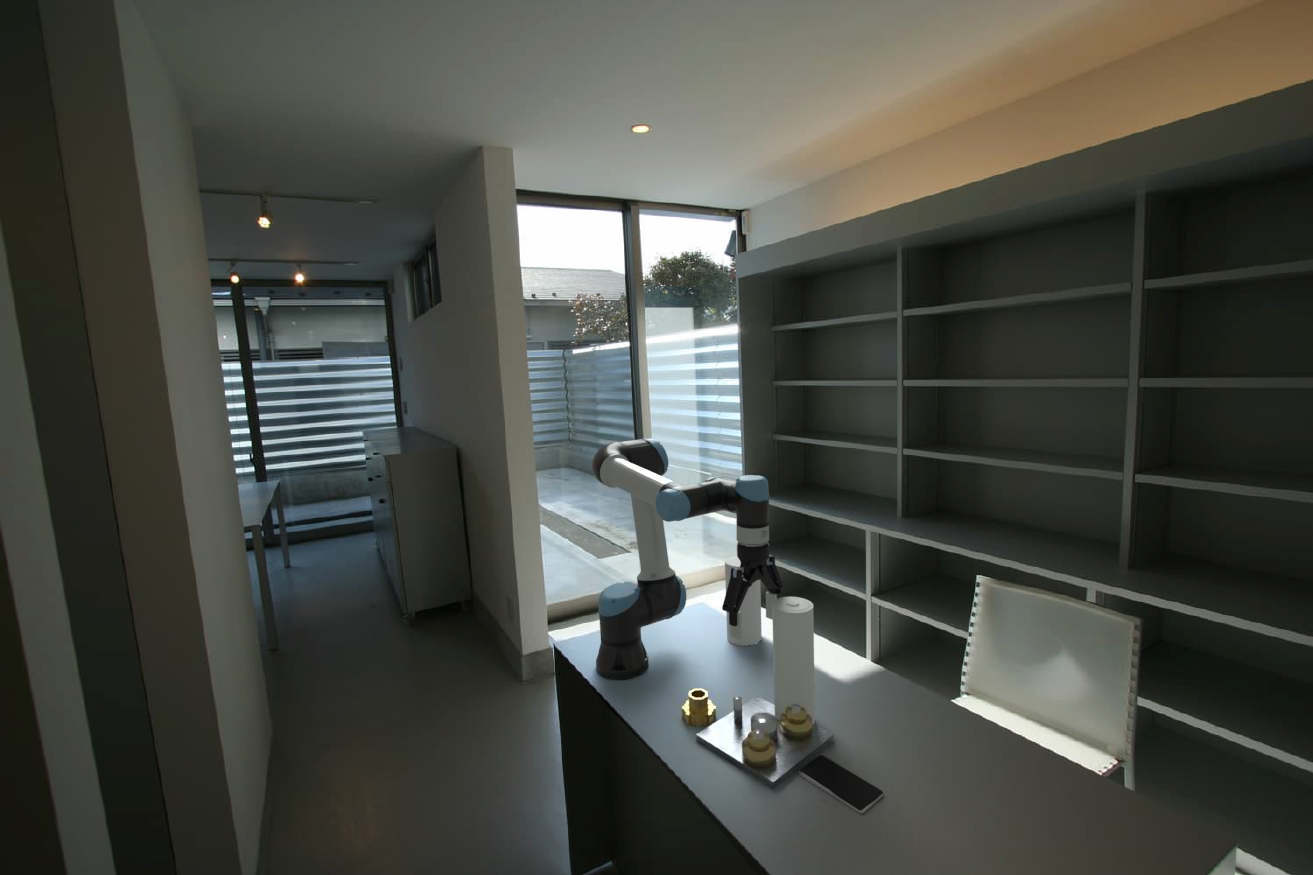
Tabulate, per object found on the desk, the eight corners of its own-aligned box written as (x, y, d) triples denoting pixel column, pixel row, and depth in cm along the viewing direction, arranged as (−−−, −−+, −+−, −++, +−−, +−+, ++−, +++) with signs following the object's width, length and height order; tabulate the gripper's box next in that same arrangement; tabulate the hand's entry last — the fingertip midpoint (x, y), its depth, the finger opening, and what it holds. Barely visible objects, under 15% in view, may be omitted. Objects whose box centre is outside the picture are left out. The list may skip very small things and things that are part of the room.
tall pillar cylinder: (753, 648, 179) (751, 568, 176) (721, 641, 185) (718, 563, 181) (766, 634, 188) (765, 558, 184) (736, 627, 193) (734, 553, 190)
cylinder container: (816, 735, 137) (814, 611, 134) (774, 731, 139) (771, 609, 136) (813, 711, 147) (812, 595, 143) (774, 708, 148) (772, 593, 145)
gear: (675, 716, 146) (674, 693, 145) (698, 703, 152) (698, 681, 151) (699, 731, 140) (698, 707, 139) (722, 716, 145) (722, 693, 145)
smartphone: (861, 811, 113) (797, 770, 124) (861, 817, 113) (797, 775, 124) (884, 791, 118) (821, 753, 129) (884, 797, 118) (821, 758, 129)
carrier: (696, 740, 137) (695, 712, 136) (757, 701, 151) (756, 675, 150) (773, 788, 120) (772, 756, 119) (833, 740, 135) (833, 711, 134)
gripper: (731, 559, 128) (732, 651, 131) (797, 532, 145) (797, 615, 148) (705, 551, 133) (707, 640, 136) (771, 527, 150) (772, 606, 153)
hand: (754, 627), depth 142 cm, fingers open, 13 cm apart
